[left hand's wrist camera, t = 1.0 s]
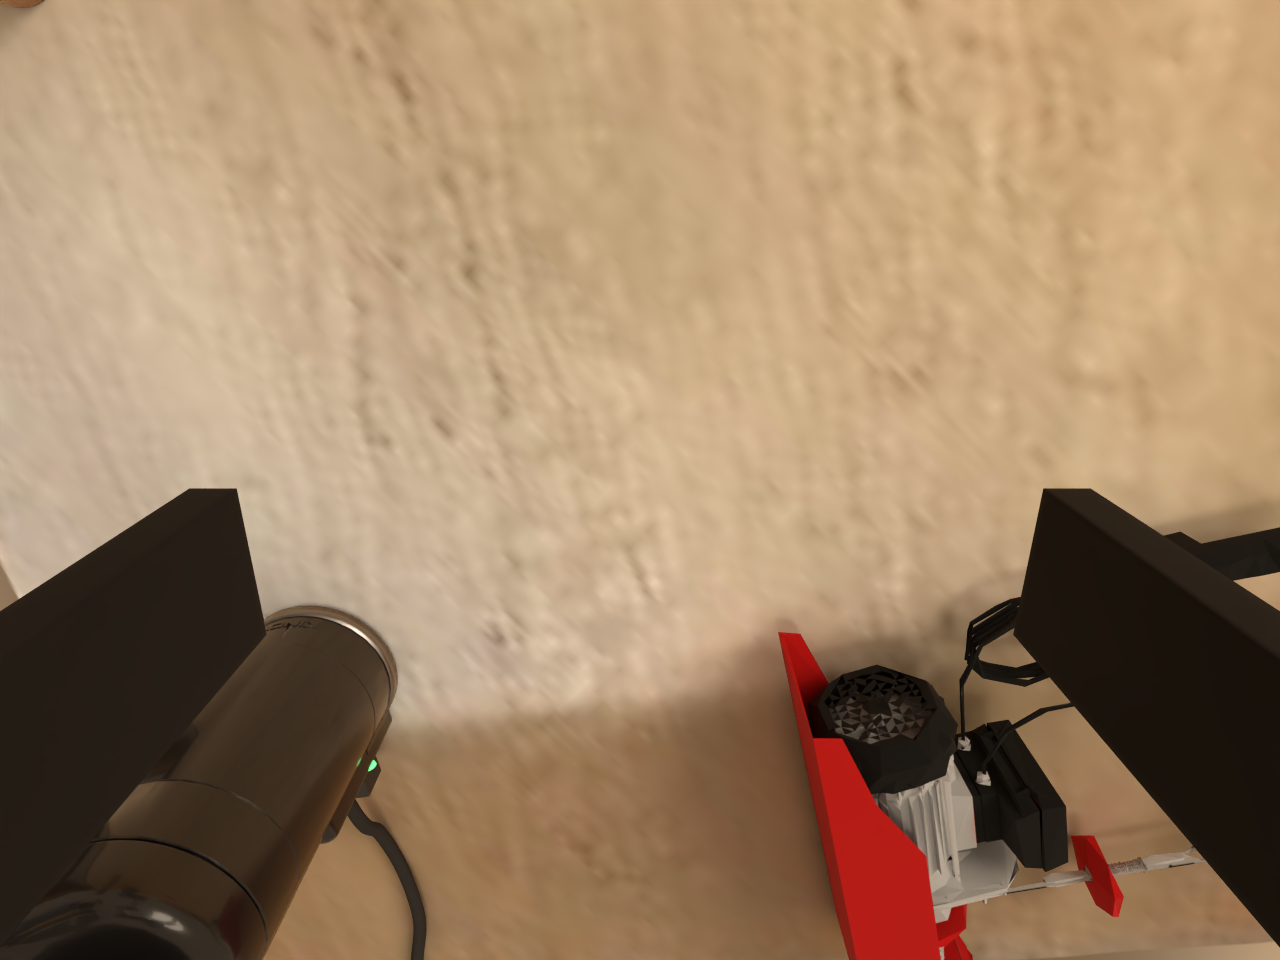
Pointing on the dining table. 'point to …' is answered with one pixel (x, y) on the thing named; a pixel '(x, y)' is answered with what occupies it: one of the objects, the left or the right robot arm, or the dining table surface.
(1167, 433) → the dining table surface
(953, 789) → the electric hoist
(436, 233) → the dining table surface
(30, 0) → the brown capped cylinder
